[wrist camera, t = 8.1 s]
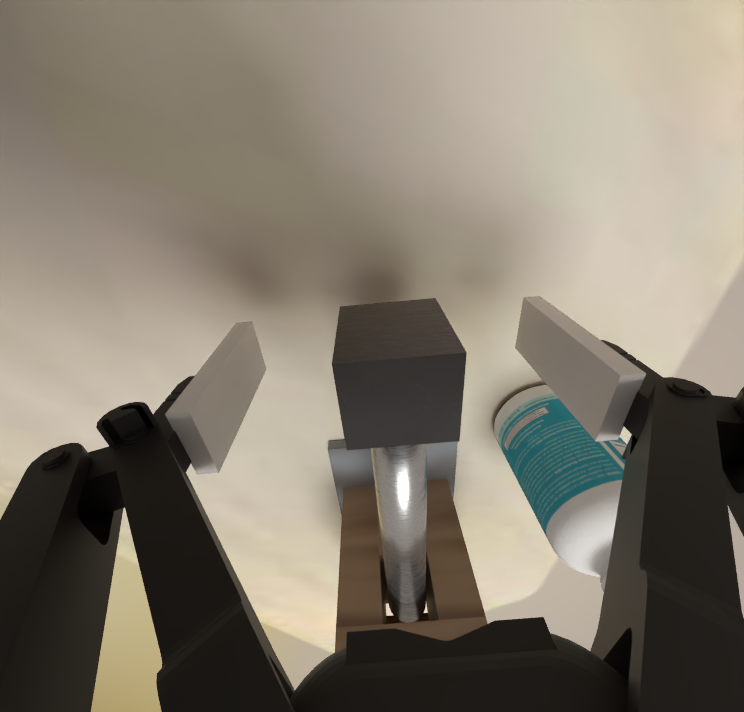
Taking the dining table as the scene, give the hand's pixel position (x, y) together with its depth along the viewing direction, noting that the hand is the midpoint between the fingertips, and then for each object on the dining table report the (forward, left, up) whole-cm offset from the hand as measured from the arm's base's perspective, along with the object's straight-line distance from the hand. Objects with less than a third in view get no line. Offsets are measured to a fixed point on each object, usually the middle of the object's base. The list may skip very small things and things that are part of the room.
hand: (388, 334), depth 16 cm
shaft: (+10, 0, 0) cm, 10 cm away
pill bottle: (+12, +12, -7) cm, 19 cm away
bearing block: (+24, 0, -6) cm, 25 cm away
